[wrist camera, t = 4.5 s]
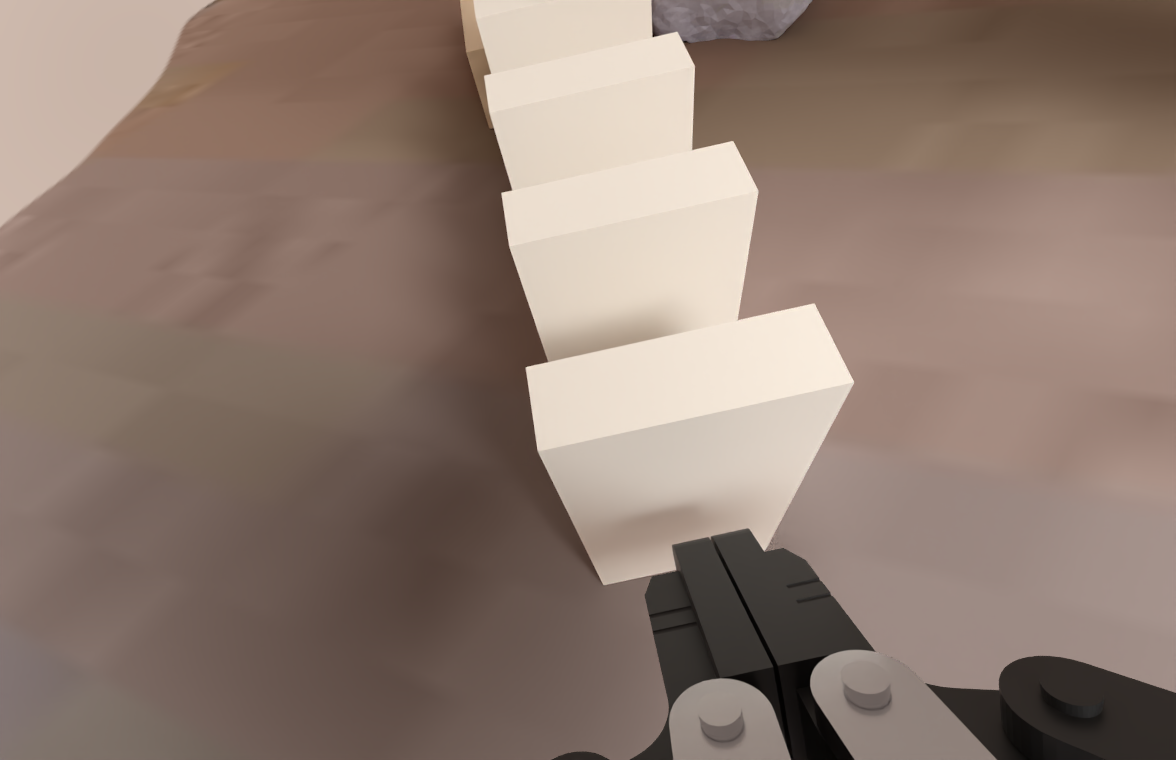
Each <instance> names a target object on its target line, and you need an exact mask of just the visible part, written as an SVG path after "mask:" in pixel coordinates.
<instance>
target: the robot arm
mask: <svg viewBox="0 0 1176 760" xmlns="http://www.w3.org/2000/svg"><path fill="white" fill-rule="evenodd" d="M672 550H673V556H674V561H675V566H676V572H671V573H667V574H662V575H658V576H653V577H652V578H651V580H650V583H649V586H648V588H647V591H646V594H645V599H646V603H647V608H648V612H649V617H650V621H651V626H652V630H653V635H654V639H655V644H656V648H657V653H658V657H659V662H660V666H661V671H662V675H663V680H664V684H665V688H666V693H667V697H668V702H669V714H668V718H667V722H666V724H665V726H664V729H663V731H662V732H661V734H660V735H659V737H658V738H657V739H656V740H655V741H654V743H653V744H652V745H651V746H649V747H648V748H647V749H646V750H645V751H643V752H642V753H640V754H639V755H637V756H636V757H634V758H632V759H630V760H1176V693H1174V692H1171V691H1168V690H1165V689H1162V688H1159V687H1156V686H1153V685H1150V684H1147V683H1144V682H1141V681H1138V680H1135V679H1132V678H1128V677H1125V676H1122V675H1119V674H1116V673H1113V672H1110V671H1107V670H1104V669H1101V668H1098V667H1095V666H1092V665H1089V664H1086V663H1082V662H1079V661H1075V660H1071V659H1066V658H1061V657H1052V656H1034V657H1026V658H1022V659H1019V660H1016V661H1014V662H1012V663H1010V664H1009V665H1008V666H1006V667H1005V668H1004V670H1003V671H1002V672H1001V675H1000V678H999V690H980V689H961V688H947V687H940V686H935V685H930V684H926V683H924V682H923V681H922V680H921V679H920V678H919V677H918V675H917V674H916V673H915V672H913V671H912V670H911V669H910V668H909V667H908V666H906V665H905V664H903V663H902V662H900V661H898V660H896V659H894V658H892V657H890V656H887V655H885V654H881V653H877V652H875V651H874V649H873V648H872V647H871V645H870V644H869V643H868V641H867V640H866V639H865V637H864V636H863V635H862V634H861V632H860V631H859V630H858V628H857V627H856V626H855V624H854V623H853V622H852V620H851V619H850V618H849V616H848V615H847V614H846V613H845V611H844V610H843V609H842V607H841V606H840V605H839V603H838V602H837V601H836V599H835V598H834V597H833V596H831V594H830V592H829V590H828V589H827V588H826V586H825V585H824V584H823V582H822V581H821V582H820V580H819V577H818V576H817V575H816V573H815V572H814V571H813V569H812V568H811V567H810V565H809V564H808V563H807V562H806V560H804V559H802V558H800V557H799V556H797V555H795V554H793V553H791V552H790V551H788V550H786V549H784V548H781V549H777V550H772V551H767V552H764V550H763V549H762V547H761V546H760V544H759V543H758V541H757V540H756V538H755V537H754V535H753V534H752V532H751V531H750V529H749V528H746V529H741V530H737V531H732V532H728V533H723V534H718V535H714V536H711V540H710V538H709V537H705V538H701V539H696V540H692V541H687V542H682V543H678V544H673V545H672ZM552 760H609V759H607V758H605V757H603V756H601V755H599V754H596V753H591V752H573V753H567V754H564V755H561V756H558V757H556V758H554V759H552Z"/></svg>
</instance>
